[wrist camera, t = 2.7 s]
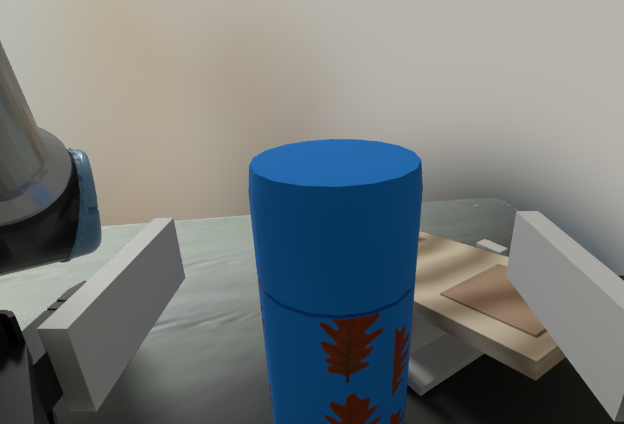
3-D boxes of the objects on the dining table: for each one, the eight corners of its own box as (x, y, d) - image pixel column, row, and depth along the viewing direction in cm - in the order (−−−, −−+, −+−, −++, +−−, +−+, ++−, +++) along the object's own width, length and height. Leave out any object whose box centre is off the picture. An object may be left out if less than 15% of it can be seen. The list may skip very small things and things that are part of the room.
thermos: (282, 387, 39) (260, 141, 29) (389, 385, 39) (403, 136, 29) (270, 505, 29) (230, 191, 19) (414, 503, 29) (447, 184, 19)
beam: (319, 264, 51) (315, 231, 50) (398, 235, 58) (397, 205, 56) (535, 380, 28) (538, 323, 26) (626, 308, 34) (631, 260, 33)
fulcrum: (347, 341, 45) (347, 274, 42) (453, 288, 54) (460, 228, 50) (412, 401, 37) (418, 325, 34) (523, 327, 46) (537, 261, 42)
